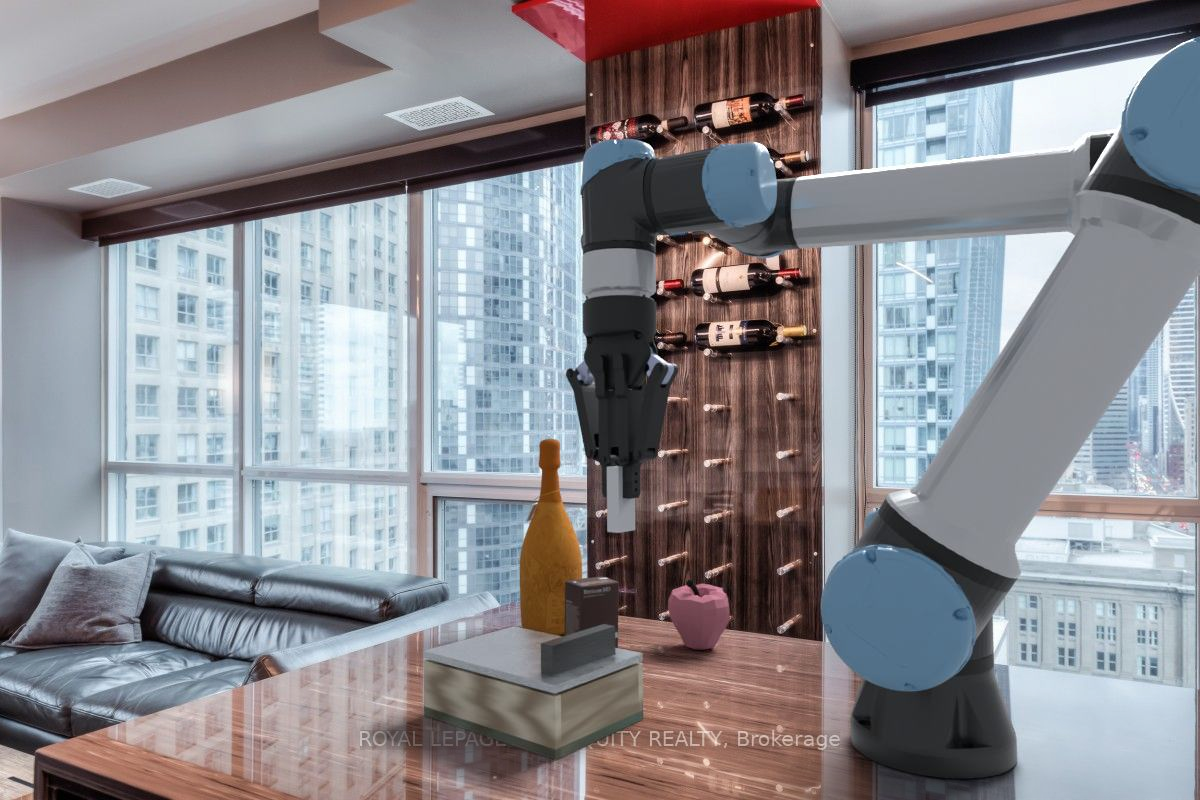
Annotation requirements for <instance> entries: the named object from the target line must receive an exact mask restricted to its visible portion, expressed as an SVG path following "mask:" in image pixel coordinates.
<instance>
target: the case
mask: <svg viewBox="0 0 1200 800" xmlns="http://www.w3.org/2000/svg"><path fill="white" fill-rule="evenodd" d="M643 666H644V664H643V663H642V662H638V663H635V664H633V665H630V666H627V667H625V668H622V669H619V670H617V671H614V672H611V673H609V674H606V675H604V676H601V677H598V678H596V679H593V680H590V681H588V682H585V683H582V684H580V685H577V686H574V687H572V688H569V689H566V690H564V691H561V692H559V693H556V694H554V693H551V692H547V691H543V690H540V689H536V688H532V687H528V686H525V685H521V684H517V683H514V682H510V681H506V680H503V679H499V678H495V677H492V676H488V675H484V674H480V673H477V672H473V671H469V670H466V669H462V668H458V667H455V666H451V665H447V664H444V663H440V662H436V661H432V660H429V659H426V660H423V716H426V717H429V718H431V719H434V720H437V721H440V722H443V723H445V724H449V725H452V726H455V727H458V728H461V729H463V730H467V731H470V732H472V733H475V734H478V735H481V736H484V737H487V738H490V739H493V740H496V741H499V742H502V743H505V744H507V745H509V746H513V747H515V748H516V747H517V748H519V749H522V750H525V751H528V752H530V753H533V754H536V755H539V756H543V757H546V758H548V759H552V760H554V761H557V760H560V759H561V758H564V757H566V756H568V755H570V754H572V753H574V752H576V751H578V750H581V749H583V748H584V747H587V746H589V745H592V744H593V743H595V742H598V741H600V740H601V739H605V738H606V737H608V736H610V735H613V734H614V733H617V732H619V731H621V730H624V729H626V728H628V727H630V726H632V725H634V724H636V723H638V722H641V721H642V720H644V678H643V677H644V672H643V671H644V667H643Z"/></svg>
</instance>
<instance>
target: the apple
mask: <svg viewBox="0 0 1200 800" xmlns="http://www.w3.org/2000/svg"><path fill="white" fill-rule="evenodd" d="M685 583H686V584H685V585H684V586H683V585H682V586H680V587H677V588H674V589H672V591H671V593H670V595H669V598H668V601H667V603H668V605H667V610H668V615H669V618H670V620H671V622H672V624H673V626H674V627H675V630H676V632H677V633H678V635H679V636H680V638H681V640H682V643H683V645H684V646H685V647H687V648H690V649H693V650H695V651H697V650H700V651H705V650H710V649H713V648H715V647H716V645H717V643H718V642H719V640H720V637H721V635H722V634H723V633H724V631H725V630H726V628H727V626H728V625H729V622H730V620H731V617H730V613H731V612H730V605H729V597H728V594H727V593H725V592H724V588H723V587H719V586H714V585H713V584H706V583H699V584H696V583H695V582H694V581H693V580H692V579H688V580H687V581H686V582H685Z"/></svg>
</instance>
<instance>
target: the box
mask: <svg viewBox="0 0 1200 800" xmlns="http://www.w3.org/2000/svg"><path fill="white" fill-rule="evenodd" d="M619 590H620V582H619V581H617V580H614V579H611V578H609V577H606V576H594V577H582V579H577V580H569V581H565V634H564V635H563V636H566V635H569V634H573V633H576V632H579V631H583V630H586V629H589V628H592V627H596V626H599V625H602V624H606V625H611V626H615V648H619V603H620V602H619V601H620V600H619V595H620V591H619Z"/></svg>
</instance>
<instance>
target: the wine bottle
mask: <svg viewBox="0 0 1200 800" xmlns="http://www.w3.org/2000/svg"><path fill="white" fill-rule="evenodd" d="M538 447H539V452H538V453H539V456H538V468H540V470H541V480H540V481H541V482H540V484H541V485H540V492H539V495H538V496H537V497H535V499H533V501H532V504H531V506H530V507H529V508H530V510H529V512H528V514H527V517H526V521H525V522H526V523H528V522H529V525H528V526H527V527H528V528H527V530H526V532H525V536H524V538H523V542H522V546H521V549H520V556H519V600H520V601H519V602H520V603H519V606H520V609H519V610H520V622H521V628H524V629H529V630H533V631H538V632H543V633H548V634H553V635H557V636H564V634H565V581H569V580H577V579H582V578H583V558H582V551H581V547H580V543H579V540H578V537H577V534H576V531H575V528H574V525H572V522H571V520H570V517H569V514H568V512H567V511H566V508H565V506H564V502H563V499H562V495H561V489H560V478H559V477H560V476H559V475H560V474H559V471H558V470H559V469H560V468H561V465H562V464H561V442H560V441H559V440H558V439H554V438H548V439H547V438H545V439H541V441H540V442H539V446H538ZM537 499H538V500H537ZM536 500H537V502H535V501H536Z"/></svg>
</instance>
